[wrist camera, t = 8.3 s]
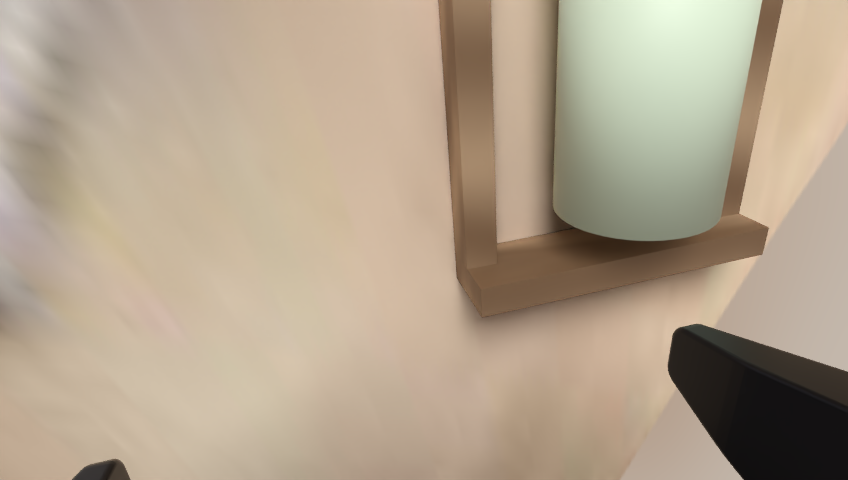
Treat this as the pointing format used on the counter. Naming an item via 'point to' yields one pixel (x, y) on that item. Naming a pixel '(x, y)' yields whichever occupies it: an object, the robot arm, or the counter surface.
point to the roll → (648, 113)
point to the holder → (574, 249)
